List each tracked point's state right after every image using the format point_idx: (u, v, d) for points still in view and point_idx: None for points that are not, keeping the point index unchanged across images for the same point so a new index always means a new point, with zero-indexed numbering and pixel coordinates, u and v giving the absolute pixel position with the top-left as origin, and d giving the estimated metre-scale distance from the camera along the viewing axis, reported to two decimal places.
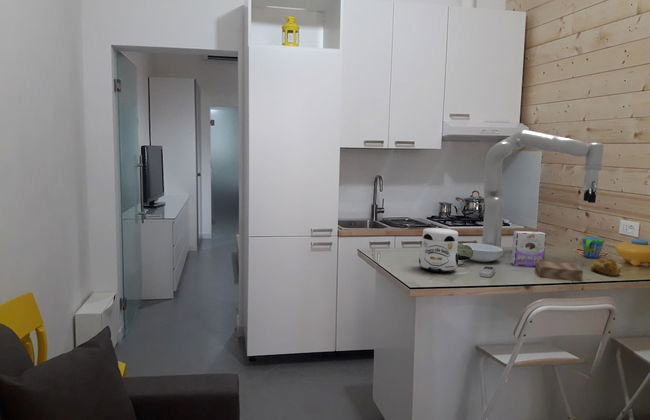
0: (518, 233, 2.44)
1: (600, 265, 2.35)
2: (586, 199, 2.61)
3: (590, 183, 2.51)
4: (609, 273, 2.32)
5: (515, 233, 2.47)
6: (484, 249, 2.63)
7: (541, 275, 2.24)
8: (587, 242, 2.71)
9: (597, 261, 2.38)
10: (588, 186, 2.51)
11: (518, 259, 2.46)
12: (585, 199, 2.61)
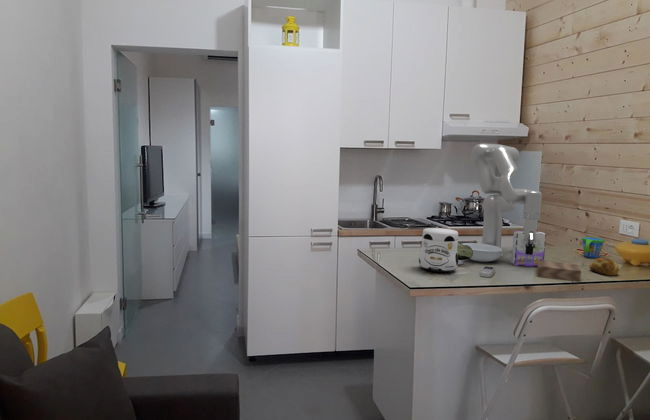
0: (518, 233, 2.44)
1: (598, 265, 2.36)
2: None
3: (528, 233, 2.42)
4: (607, 273, 2.33)
5: (515, 233, 2.47)
6: (484, 249, 2.63)
7: (539, 274, 2.26)
8: (587, 242, 2.71)
9: (595, 261, 2.38)
10: (526, 236, 2.42)
11: (518, 259, 2.46)
12: None
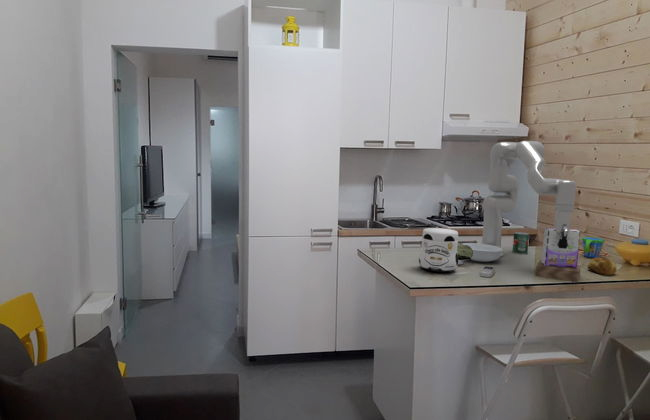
0: (549, 230, 2.25)
1: (595, 264, 2.36)
2: None
3: (561, 226, 2.22)
4: (603, 272, 2.34)
5: (546, 230, 2.28)
6: (484, 249, 2.63)
7: (537, 274, 2.27)
8: (587, 242, 2.71)
9: (593, 260, 2.39)
10: (558, 230, 2.23)
11: (549, 259, 2.27)
12: None
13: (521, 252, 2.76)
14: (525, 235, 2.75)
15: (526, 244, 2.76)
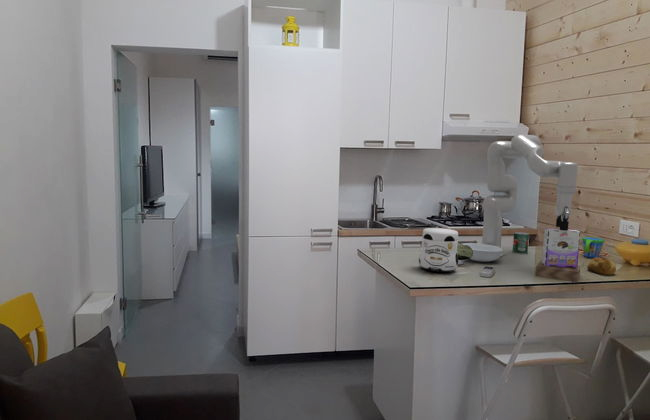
0: (549, 231, 2.25)
1: (595, 264, 2.37)
2: (559, 225, 2.31)
3: (562, 208, 2.21)
4: (603, 272, 2.34)
5: (546, 231, 2.28)
6: (484, 249, 2.63)
7: (537, 274, 2.27)
8: (587, 242, 2.71)
9: (592, 260, 2.39)
10: (560, 212, 2.22)
11: (549, 259, 2.27)
12: (557, 225, 2.31)
13: (521, 252, 2.76)
14: (525, 235, 2.75)
15: (526, 244, 2.76)
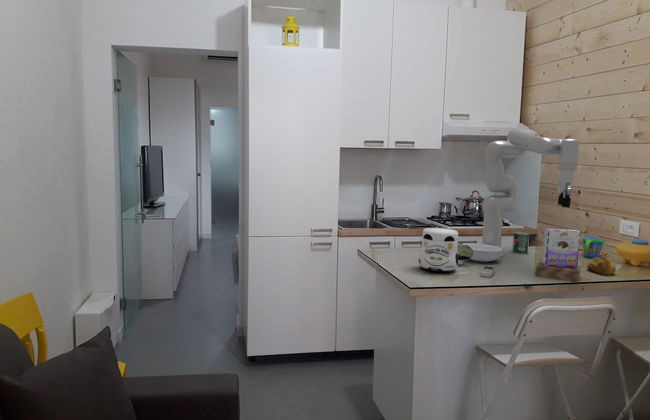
0: (549, 231, 2.25)
1: (594, 264, 2.37)
2: (561, 203, 2.30)
3: (564, 185, 2.21)
4: (602, 272, 2.34)
5: (546, 231, 2.27)
6: (484, 249, 2.63)
7: (537, 274, 2.26)
8: (587, 242, 2.71)
9: (592, 260, 2.39)
10: (562, 188, 2.21)
11: (549, 259, 2.26)
12: (560, 203, 2.31)
13: (521, 252, 2.76)
14: (525, 235, 2.75)
15: (526, 244, 2.76)
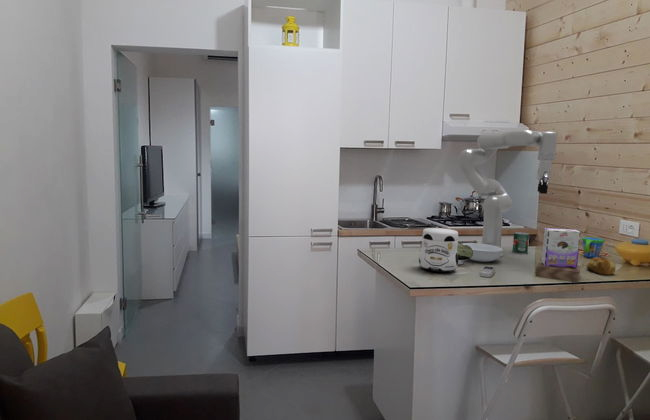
0: (549, 231, 2.24)
1: (594, 264, 2.37)
2: (540, 190, 2.54)
3: (542, 173, 2.44)
4: (602, 272, 2.34)
5: (546, 231, 2.27)
6: (484, 249, 2.63)
7: (537, 274, 2.26)
8: (587, 242, 2.71)
9: (591, 260, 2.39)
10: (540, 176, 2.44)
11: (549, 259, 2.26)
12: (539, 190, 2.54)
13: (521, 252, 2.76)
14: (525, 235, 2.75)
15: (526, 244, 2.76)
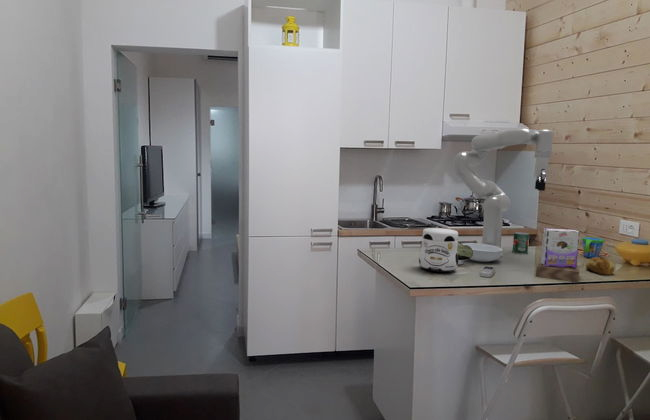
0: (549, 231, 2.25)
1: (593, 264, 2.37)
2: (537, 187, 2.57)
3: (539, 171, 2.47)
4: (601, 272, 2.34)
5: (545, 231, 2.27)
6: (484, 249, 2.63)
7: (537, 274, 2.26)
8: (587, 242, 2.71)
9: (591, 260, 2.40)
10: (537, 174, 2.48)
11: (549, 259, 2.26)
12: (536, 187, 2.57)
13: (521, 252, 2.76)
14: (525, 235, 2.75)
15: (526, 244, 2.76)
